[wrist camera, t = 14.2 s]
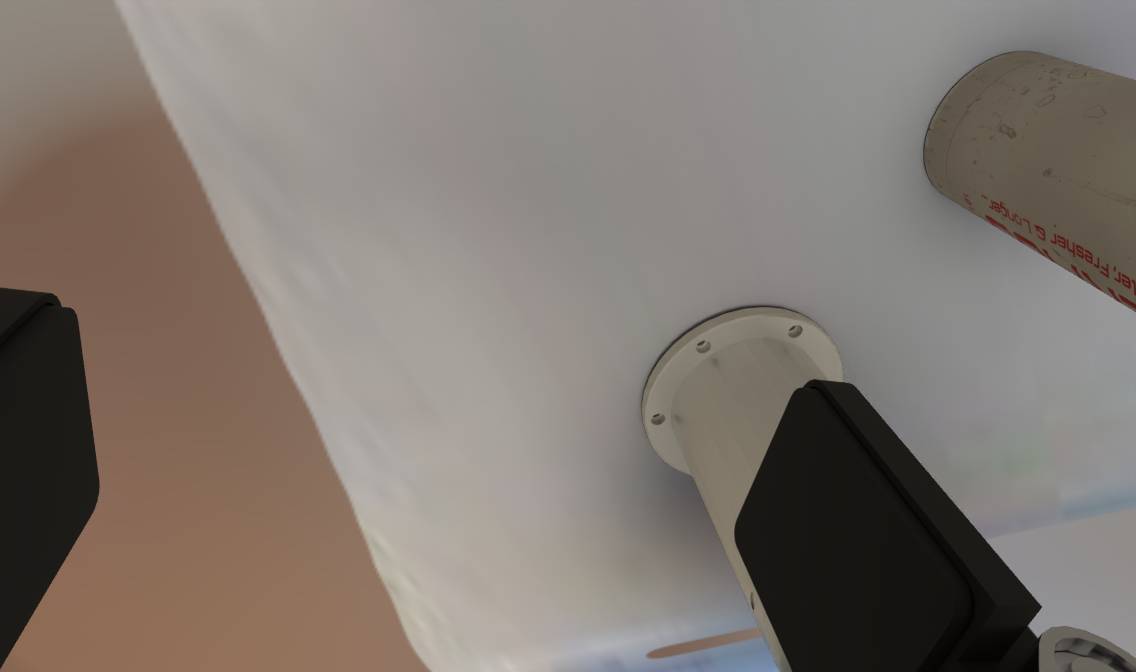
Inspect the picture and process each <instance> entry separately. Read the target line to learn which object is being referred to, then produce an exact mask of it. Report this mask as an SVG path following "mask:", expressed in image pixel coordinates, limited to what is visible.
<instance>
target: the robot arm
mask: <svg viewBox="0 0 1136 672" xmlns="http://www.w3.org/2000/svg"><path fill="white" fill-rule="evenodd" d="M843 376H844V373H843V366H842V359H841V357H840V355H839V352H838V350H837V348H836V346H835V344H834V343H833V342H832V341H831V339H830V338H829V337H828V335H827V334H826V333H825V332H824V331H823V330H822V329H821V328H820V327H819V326H818V325H817V324H816V323H815V322H813V321H812V320H810V319H808V318H806V317H805V316H803V315H801V314H799V313H795V312H792V311H789V310H786V309H780V308H770V307H759V308H746V309H742V310H738V311H733V312H729V313H725V314H723V315H721V316H718V317H716V318H713V319H711V320H709V321H706V322H704V323H703V324H701V325H699V326H698V327H696V328H695V329H693V330H691V331H690V332H688V333H687V334H685V335H684V336H683V337H682V338H681V339H680V340H678V341H677V342H676V343H675V344H674V345H672V346H671V348H670V349H669V350H668V351H667V352H666V353H665V355H664V356H663V357H662V358H661V359H660V360H659V362H658V363H657V365H656V367H655V368H654V370H653V372H652V374H651V375H650V377H649V380H648V382H647V385H646V388H645V391H644V395H643V402H642V417H643V424H644V427H645V430H646V433H647V436H648V439H649V441H650V443H651V445H652V446H653V448H654V450H655V452H656V453H657V454H658V455H659V456H660V457H661V458H662V460H663V461H664V462H666V463H667V464H669V465H670V466H671V467H673V468H674V469H676V470H678V471H680V472H683V473H685V474H688V475H690V476H692V477H693V479H694V481H695V483H696V486H697V488H698V490H699V492H700V495H701V497H702V499H703V502H704V504H705V506H706V508H707V511H708V513H709V515H710V517H711V520H712V522H713V524H714V526H715V529H716V531H717V533H718V536H719V538H720V540H721V542H722V545H723V547H724V549H725V551H726V554H727V556H728V558H729V561H730V563H731V565H732V567H733V570H734V572H735V574H736V576H737V579H738V581H739V583H740V585H741V588H742V590H743V592H744V595H745V597H746V599H747V601H748V604H749V606H750V608H751V610H752V613H753V615H754V617H755V619H756V622H757V624H758V626H759V629H760V631H761V633H762V635H763V638H764V640H765V642H766V644H767V646H768V648H769V650H770V653H771V655H772V657H773V659H774V662H775V664H776V666H777V668H778V670H779V672H1136V658H1134V657H1133V656H1132V655H1130V654H1129V653H1128V652H1126V651H1124V650H1123V649H1121V648H1120V647H1118V646H1116V645H1115V644H1113V643H1111V642H1110V641H1108V640H1106V639H1104V638H1101V637H1099V636H1097V635H1095V634H1092V633H1090V632H1088V631H1085V630H1081V629H1076V628H1072V627H1068V626H1061V627H1051V628H1050V629H1048V630H1047V631H1045V632H1044V633H1042V634H1041V636H1040V637H1039V638H1038V637H1037V636H1036V634H1035V633H1034V632H1033V631H1032V630H1031V629H1030V627H1029V626H1028V624H1029V623H1030V622H1031V621H1032V619H1033V618H1034V617H1035V616H1036V614H1037V613H1038V612H1039V611H1040V609H1041V608H1042V606H1041V605H1040V604H1039V603H1038V602H1037V601H1036V600H1035V598H1034V597H1033V596H1032V595H1031V593H1030V592H1029V591H1028V590H1027V589H1026V588H1025V586H1024V585H1023V584H1022V583H1021V582H1020V581H1019V579H1018V578H1017V577H1016V576H1015V575H1014V573H1013V572H1012V571H1011V570H1010V569H1009V567H1008V566H1007V565H1006V564H1005V563H1004V562H1003V560H1002V559H1001V558H1000V557H999V556H998V555H997V553H996V552H995V551H994V550H993V549H992V547H991V546H990V545H989V544H988V543H987V541H986V540H985V539H984V538H983V537H982V536H981V534H980V533H979V532H978V531H977V530H976V528H975V527H974V526H973V525H972V524H971V523H970V521H969V520H968V519H967V518H966V517H965V515H964V514H963V513H962V512H961V511H960V510H959V508H958V507H957V506H956V505H955V504H954V502H953V501H952V500H951V499H950V498H949V497H948V495H947V494H946V493H945V492H944V491H943V489H942V488H941V487H940V486H939V485H938V484H937V482H936V481H935V480H934V479H933V478H932V477H931V475H930V474H929V473H928V472H927V471H926V469H925V468H924V467H923V466H922V465H921V464H920V462H919V461H918V460H917V459H916V458H915V456H914V455H913V454H912V453H911V452H910V451H909V449H908V448H907V447H906V446H905V445H904V443H903V442H902V441H901V440H900V439H899V438H898V436H897V435H896V434H895V433H894V432H893V430H892V429H891V428H890V427H889V426H888V425H887V423H886V422H885V421H884V420H883V419H882V417H881V416H880V415H879V414H878V413H877V412H876V410H875V409H874V408H873V407H872V406H871V404H870V403H869V402H868V401H867V400H866V399H865V397H864V396H863V395H862V394H861V393H860V391H859V390H858V389H857V388H856V387H855V386H854V385H852V384H850V383H845V382H843ZM98 495H99V475H98V468H97V460H96V452H95V445H94V437H93V430H92V423H91V415H90V408H89V400H88V392H87V385H86V377H85V370H84V362H83V354H82V347H81V340H80V332H79V325H78V319H77V315H76V313H75V311H74V310H73V309H71V308H67V307H62V306H61V303H60V301H59V300H58V298H57V296H55V295H54V294H52V293H44V292H35V291H26V290H17V289H8V288H0V669H1V667H2V665H3V663H4V662H5V660H6V658H7V657H8V655H9V653H10V652H11V650H12V648H13V647H14V645H15V643H16V642H17V640H18V638H19V636H20V635H21V633H22V631H23V630H24V628H25V626H26V625H27V623H28V621H29V619H30V618H31V616H32V615H33V613H34V611H35V610H36V608H37V606H38V604H39V603H40V601H41V599H42V598H43V596H44V594H45V593H46V591H47V589H48V588H49V586H50V584H51V583H52V581H53V579H54V578H55V576H56V574H57V572H58V571H59V569H60V567H61V566H62V564H63V562H64V561H65V559H66V557H67V556H68V554H69V552H70V551H71V549H72V547H73V545H74V544H75V542H76V540H77V539H78V537H79V535H80V534H81V532H82V530H83V529H84V527H85V525H86V524H87V522H88V520H89V519H90V517H91V515H92V513H93V511H94V509H95V506H96V503H97V500H98Z"/></svg>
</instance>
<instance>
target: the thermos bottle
mask: <svg viewBox="0 0 1136 672" xmlns="http://www.w3.org/2000/svg"><path fill="white" fill-rule="evenodd" d="M924 162H925V166H926V170H927V174H928V177H929V178H930V180H931V182H932V184H933V186H934V187H935V188H936V189H937V190H938V191H939V192H940V193H941V194H943V195H944V196H946V197H948V198H949V199H951V200H953V201H954V202H956V203H958V204H959V205H961V206H962V207H964V208H966V209H967V210H969V211H971V212H972V213H974V214H976V215H977V216H979V217H981V218H982V219H984V220H985V221H987V222H989V223H990V224H992V225H994V226H995V227H997V228H999V229H1000V230H1002V231H1004V232H1005V233H1007V234H1008V235H1010V236H1012V237H1013V238H1015V239H1017V240H1018V241H1020V242H1022V243H1023V244H1025V245H1026V246H1028V247H1030V248H1031V249H1033V250H1035V251H1036V252H1038V253H1040V254H1041V255H1043V256H1045V257H1046V258H1048V259H1049V260H1051V261H1053V262H1054V263H1056V264H1058V265H1059V266H1061V267H1063V268H1064V269H1066V270H1068V271H1069V272H1071V273H1073V274H1074V275H1076V276H1078V277H1079V278H1081V279H1082V280H1084V281H1086V282H1087V283H1089V284H1091V285H1092V286H1094V287H1096V288H1097V289H1099V290H1100V291H1102V292H1104V293H1105V294H1107V295H1109V296H1110V297H1112V298H1114V299H1115V300H1117V301H1118V302H1120V303H1122V304H1123V305H1125V306H1127V307H1128V308H1130V309H1132V310H1133V311H1135V312H1136V80H1133V79H1129V78H1126V77H1123V76H1119V75H1115V74H1112V73H1108V72H1105V71H1101V70H1098V69H1094V68H1091V67H1087V66H1083V65H1080V64H1076V63H1073V62H1069V61H1066V60H1062V59H1058V58H1055V57H1051V56H1048V55H1044V54H1041V53H1037V52H1027V51H1019V52H1013V53H1007V54H1004V55H1001V56H998V57H995V58H992V59H990V60H988V61H987V62H985V63H983V64H981V65H979V66H978V67H976V68H975V69H973V70H972V71H971V72H970V73H968V74H967V75H966V76H964V77H963V78H962V79H961V80H960V81H959V82H958V83H957V84H956V85H955V86H954V87H953V88H952V89H951V90H950V92H949V93H948V94H947V96H946V97H945V98H944V100H943V101H942V103H941V104H940V105H939V107H938V109H937V111H936V113H935V115H934V117H933V119H932V121H931V124H930V127H929V129H928V132H927V136H926V142H925V147H924Z"/></svg>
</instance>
